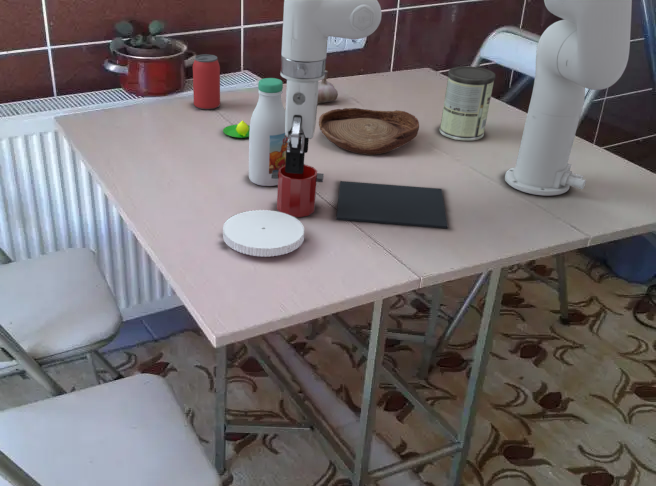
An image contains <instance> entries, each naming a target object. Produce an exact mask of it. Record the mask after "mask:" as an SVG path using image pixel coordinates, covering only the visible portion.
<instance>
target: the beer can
mask: <svg viewBox="0 0 656 486" xmlns="http://www.w3.org/2000/svg"><path fill="white" fill-rule="evenodd" d="M193 60H194V61H193V64H192V82H193V83H192V91H193V92H192V93H193V105H194V107H195V108H197V109H199V110H206V111H207V110H214V109H215V110H216V109H217V108H219V106H220V105H221V66H220V63H219V58H218V56H217V55H215V54H209V53H208V54H207V53H205V54H198V55H196V56H194V59H193Z"/></svg>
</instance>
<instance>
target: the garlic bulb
mask: <svg viewBox="0 0 656 486" xmlns="http://www.w3.org/2000/svg"><path fill="white" fill-rule="evenodd" d="M328 73H329V71H328V70H326V69H325V77H324V79H322V80H319V81H318V102H317V104H323V103H330V102H335V101H336V100H337V99H338V97H339V92H338V90H337V89H336V87H335V86H334V83H333V84H332V83H331V82H330V81H327V80H328V79H327V78H328Z"/></svg>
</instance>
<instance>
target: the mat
mask: <svg viewBox="0 0 656 486" xmlns="http://www.w3.org/2000/svg"><path fill="white" fill-rule="evenodd" d="M336 220H337V221H349V222H359V223H361V222H363V223H372V224H373V223H375V224H385V225H396V226H397V225H398V226H410V227H411V226H412V227H423V228H435V229H437V228H438V229H448V220H447V214H446V208H445V201H444V196H443V189H442V188H437V187H425V186H424V187H423V186H411V185H396V184H384V183H382V184H381V183H368V182H360V181H359V182H357V181H345V180H340V181H339V191H338V200H337V211H336Z"/></svg>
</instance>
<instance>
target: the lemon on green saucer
mask: <svg viewBox="0 0 656 486" xmlns="http://www.w3.org/2000/svg"><path fill="white" fill-rule="evenodd" d="M222 132H223V134H225V135H227V136H229V137H231V138H234V139H235V138H236V139H246V138H247V139H248V138H249V132H250V124H249V125H248V124H247V122H246V121H244V120H241V121H240V122H238V124H229V125H227V126H225V127H224V128H223V129H222Z"/></svg>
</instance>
